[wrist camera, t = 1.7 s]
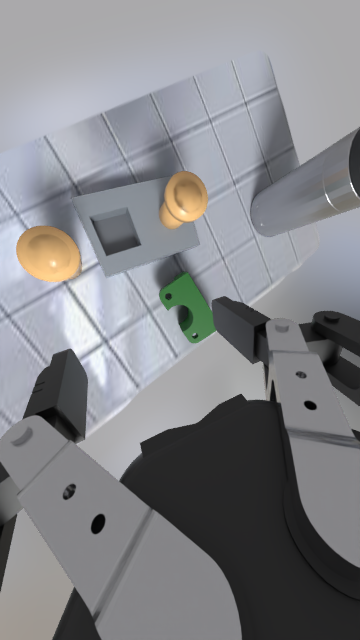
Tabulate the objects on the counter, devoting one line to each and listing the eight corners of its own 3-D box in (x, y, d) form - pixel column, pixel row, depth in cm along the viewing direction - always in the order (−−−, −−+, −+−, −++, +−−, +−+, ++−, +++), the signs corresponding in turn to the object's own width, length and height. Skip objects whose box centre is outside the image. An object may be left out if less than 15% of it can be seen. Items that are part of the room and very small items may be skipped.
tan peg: (77, 242, 30) (64, 219, 20) (94, 277, 31) (88, 271, 22) (38, 253, 28) (4, 234, 19) (57, 289, 29) (34, 289, 20)
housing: (172, 183, 33) (198, 142, 24) (193, 248, 36) (222, 232, 27) (74, 206, 29) (58, 166, 20) (106, 278, 32) (106, 272, 22)
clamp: (160, 295, 40) (150, 284, 31) (184, 278, 40) (181, 263, 30) (192, 344, 39) (192, 348, 30) (217, 327, 38) (225, 326, 29)
